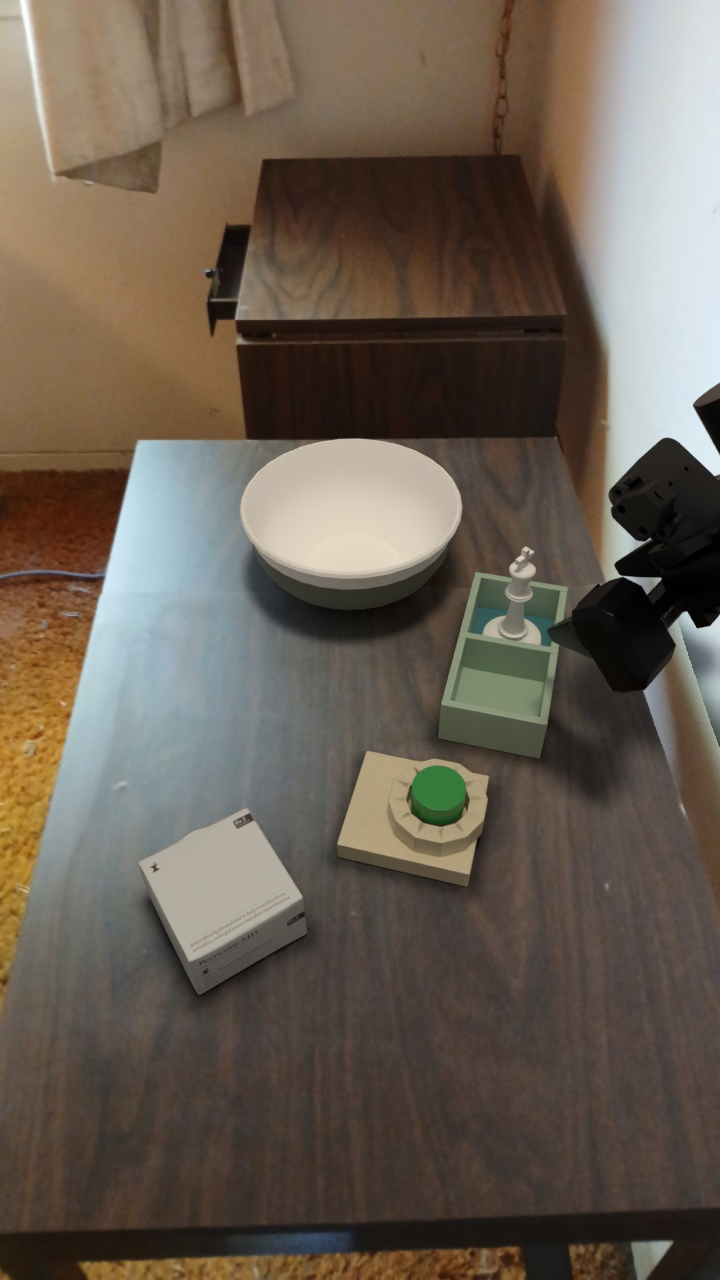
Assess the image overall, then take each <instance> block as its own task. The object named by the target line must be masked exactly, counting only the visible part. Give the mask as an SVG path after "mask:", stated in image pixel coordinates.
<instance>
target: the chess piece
mask: <svg viewBox="0 0 720 1280" xmlns="http://www.w3.org/2000/svg"><path fill="white" fill-rule="evenodd" d="M520 551H521V552H520V555H519V556H518V557H516V558H515V560H514V561H513V562H512V563H511V564H510V565H509V567H508V571H509V572H508V573H509V575H510V578H511V579H512V583H510V584H509V585H508V586H507V588H506V589H505V594H506V596H507V597H508V598H509V599H510V600H511V602H510V605H509V608H508V612H507V615H506V616H500V617H497V618H494V619H492V620H491V621H490V622H488V623H487V624H486V626H485V627H484V630H483V633H482V635H486V636H491V637H497V638H502V639H508V640H514V641H519V642H525V643H531V644H536V645H541V634H540V631H539V630H538V628H537V627H536V626H535V625H534V624H533V623H532V622H530V621H529V620H527V619H525V618H524V602H526V601H528V600H530V599H531V598H532V595H533V592H532V589H531V587H530V586H529V583H530V581H533V579H534V577H535V575H536V573H537V569H536V566H535V565H534V564H533V563H532V562H529V560H530V559H532V558H533V557H534V556H535V551H534V550H533V549H531V548H529V547H528V546H527V545H525V546H524V547H522V548H521V550H520Z"/></svg>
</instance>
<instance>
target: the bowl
mask: <svg viewBox="0 0 720 1280" xmlns="http://www.w3.org/2000/svg"><path fill="white" fill-rule="evenodd" d="M239 505H240V506H239V517H240V522H241V527H242V529H243V531H244V533H245V534H246V536H247V538H248V540H249V541H250V542H251V544H252V546H253V548H254V552H255V556H256V558H257V560H258V562H259V564H260V565H261V567H262V569H263V570H264V571H265V572H266V574H267V575H268V576H270V578H271V579H272V580H273V581H274V582H275V583H276V584H277V585H279V587H280V588H282V589H283V590H284V591H286V592H287V593H288V594H290V595H292V597H294V598H297V599H299V600H301V601H303V602H305V603H308V604H310V605H314V606H317V607H318V606H319V607H322V608H325V609H334V610H342V611H349V610H350V611H353V610H367V609H373V608H379V607H383V606H386V605H390V604H392V603H396V602H399V601H400V600H402V599H405V598H406V597H409V596H410V595H412V594H414V593H415V592H417V591H418V590H419V589H420V588H422V587H423V586H424V585H425V584H426V583H427V582H428V581H429V580H430V579H431V577H432V576H433V575H434V574H435V573H436V572H437V571H438V569H439V568H440V567H441V566H442V564H443V563H444V561H445V558H446V556H447V554H448V552H449V548H450V544H451V539H452V538H453V537H454V535H455V534H456V531H457V530H458V527H459V525H460V523H461V521H462V513H463V508H464V507H463V501H462V496H461V492H460V490H459V488H458V486H457V485H456V482H455V481H454V478H452V476H451V475H450V474H449V473H448V472H447V471H446V470H445V469H444V467H442V466H441V465H440V464H438V463H437V462H435V460H433V459H432V458H431V457H429V456H427V455H425V454H423V453H421V452H419V451H417V450H415V449H412V448H410V447H406V446H404V445H400V444H397V443H394V442H388V441H384V440H383V441H382V440H378V439H367V438H337V439H331V440H323V441H317V442H313V443H309V444H306V445H302V446H298V447H296V448H294V449H292V450H290V451H287V452H285V453H283V454H280V455H279V456H278V457H276V458H274V459H273V460H271V461H269V462H268V463H266V464H265V465H264V466H263V467H262V468H260V469H259V470H258V471H257V472H256V473H255V474H254V476H253V477H252V478H251V480H250V481H249V482H248V484H247V485H246V487H245V489H244V492H243V493H242V497H241V499H240V504H239Z"/></svg>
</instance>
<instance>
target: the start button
mask: <svg viewBox="0 0 720 1280" xmlns="http://www.w3.org/2000/svg"><path fill="white" fill-rule="evenodd" d="M465 797H466V784H465V781H464V779H463V778H462V777H461V775H460V774H459V773H458V772H456V771H455V770H453V769H451V768H449V767H446V766H438V765H437V766H430V767H427V768H424V769H423V770H421V771H420V772H419V773H418V774H417V775H416V776H415V778H414V780H413V782H412V793H411V805H412V808H413V810H414V812H415V813H416V814H417V816H418V817H420V818H421V819H422V820H424V821H426V822H428V823H431V824H437V825H442V824H447V823H450V822H452V821H454V820H456V819H457V818H458V817H459V816H460V815H461V813H462V812H463V809H464V805H465Z"/></svg>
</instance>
